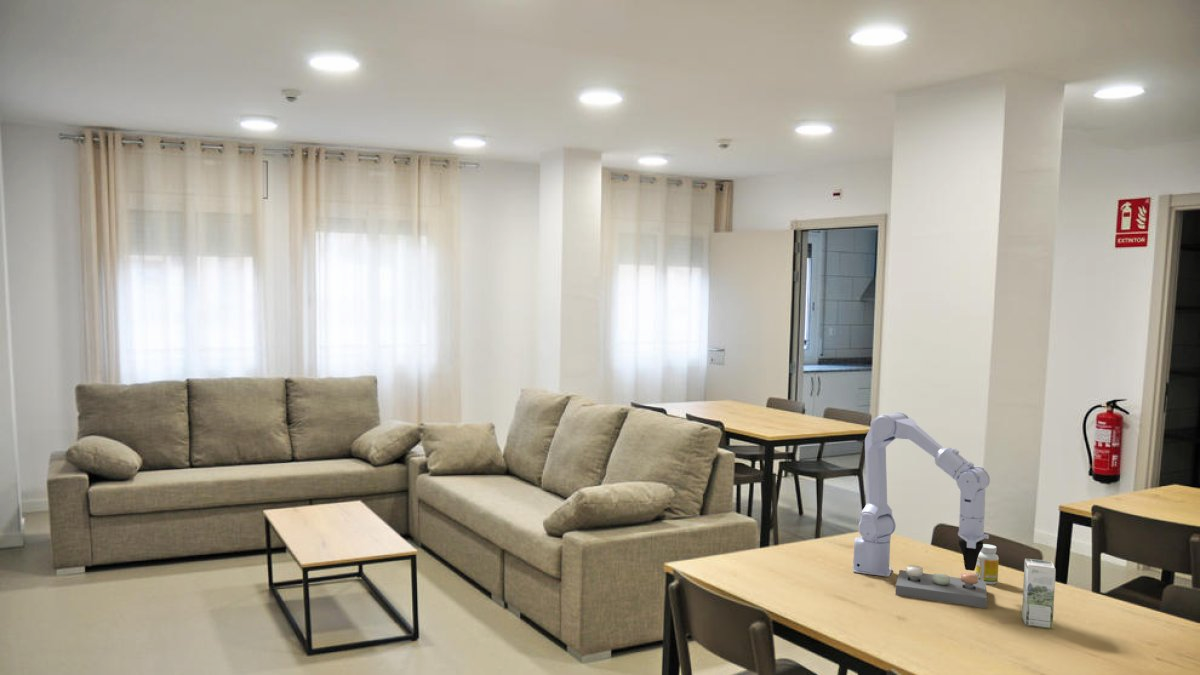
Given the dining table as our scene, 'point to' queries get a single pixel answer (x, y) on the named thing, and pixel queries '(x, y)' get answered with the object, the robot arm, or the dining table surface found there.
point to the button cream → (914, 572)
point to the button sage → (941, 579)
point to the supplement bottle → (987, 564)
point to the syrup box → (1038, 593)
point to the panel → (942, 590)
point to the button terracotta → (969, 579)
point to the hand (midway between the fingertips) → (969, 569)
